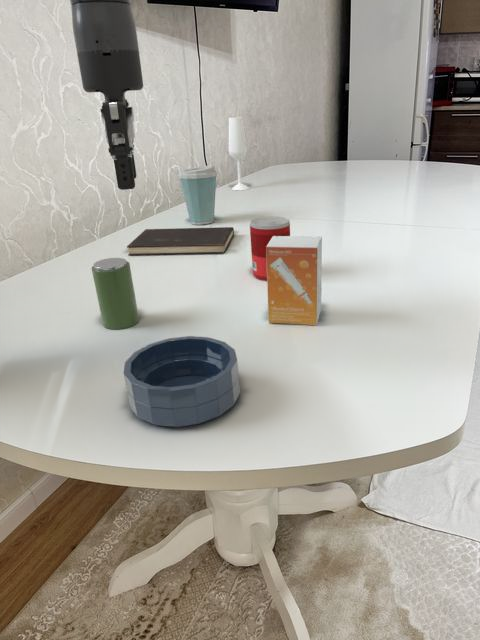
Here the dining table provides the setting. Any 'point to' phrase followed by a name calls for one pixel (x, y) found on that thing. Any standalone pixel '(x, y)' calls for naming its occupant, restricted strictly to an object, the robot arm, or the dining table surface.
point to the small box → (294, 279)
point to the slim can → (115, 293)
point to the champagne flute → (237, 146)
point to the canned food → (265, 240)
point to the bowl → (182, 380)
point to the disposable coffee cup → (199, 193)
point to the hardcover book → (182, 241)
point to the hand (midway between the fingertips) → (128, 183)
